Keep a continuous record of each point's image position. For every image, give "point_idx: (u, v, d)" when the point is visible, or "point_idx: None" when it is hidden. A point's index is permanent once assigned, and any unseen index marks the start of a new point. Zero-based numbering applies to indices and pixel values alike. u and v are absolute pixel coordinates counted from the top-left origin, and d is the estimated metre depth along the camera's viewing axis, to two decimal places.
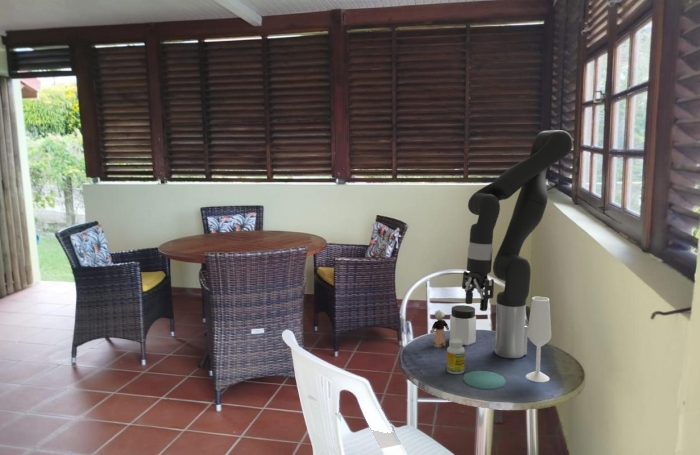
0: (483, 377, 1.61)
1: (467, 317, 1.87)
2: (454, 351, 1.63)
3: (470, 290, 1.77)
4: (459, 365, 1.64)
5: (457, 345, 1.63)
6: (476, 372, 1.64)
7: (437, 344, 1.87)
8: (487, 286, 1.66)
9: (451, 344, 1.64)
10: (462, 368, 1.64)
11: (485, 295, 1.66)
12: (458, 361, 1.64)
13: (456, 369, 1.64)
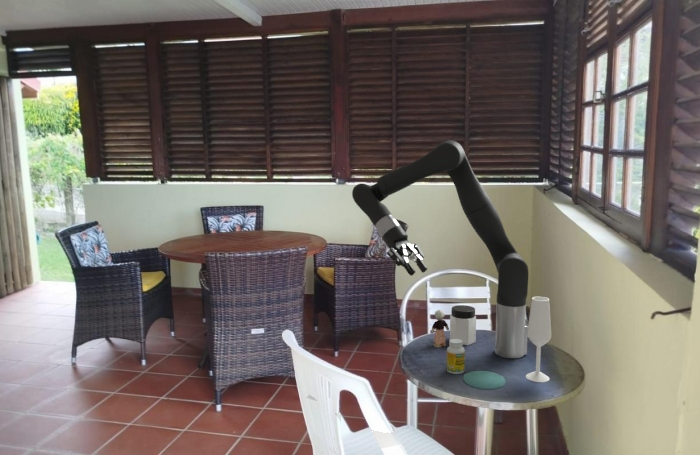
0: (483, 377, 1.61)
1: (467, 317, 1.87)
2: (454, 351, 1.63)
3: (417, 259, 1.78)
4: (459, 365, 1.64)
5: (457, 345, 1.63)
6: (476, 372, 1.64)
7: (437, 344, 1.87)
8: (391, 257, 1.74)
9: (451, 344, 1.64)
10: (462, 368, 1.64)
11: None
12: (458, 361, 1.64)
13: (456, 369, 1.64)
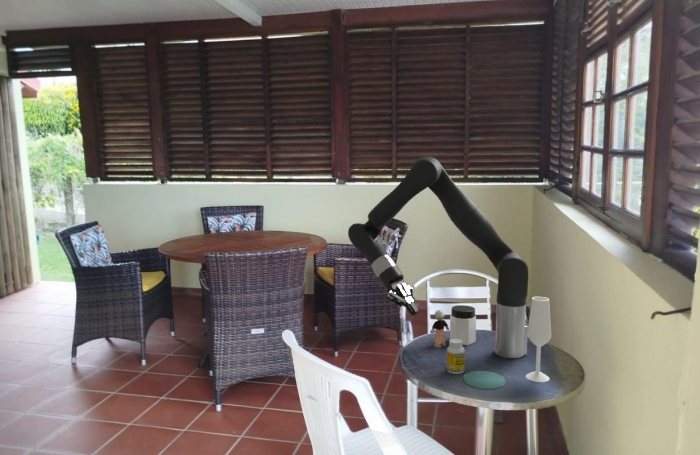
0: (483, 377, 1.61)
1: (467, 317, 1.87)
2: (454, 351, 1.63)
3: None
4: (459, 365, 1.64)
5: (457, 345, 1.63)
6: (476, 372, 1.64)
7: (437, 344, 1.87)
8: (391, 300, 1.76)
9: (451, 344, 1.64)
10: (462, 368, 1.64)
11: None
12: (458, 361, 1.64)
13: (456, 369, 1.64)
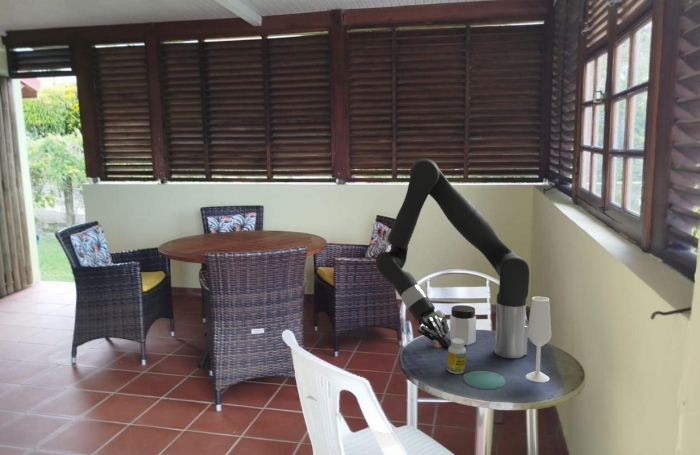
0: (483, 377, 1.61)
1: (467, 317, 1.87)
2: (456, 351, 1.63)
3: None
4: (459, 365, 1.64)
5: (459, 345, 1.63)
6: (476, 372, 1.64)
7: (437, 344, 1.87)
8: (423, 334, 1.68)
9: (453, 343, 1.64)
10: (462, 368, 1.64)
11: None
12: (459, 362, 1.63)
13: (456, 369, 1.64)
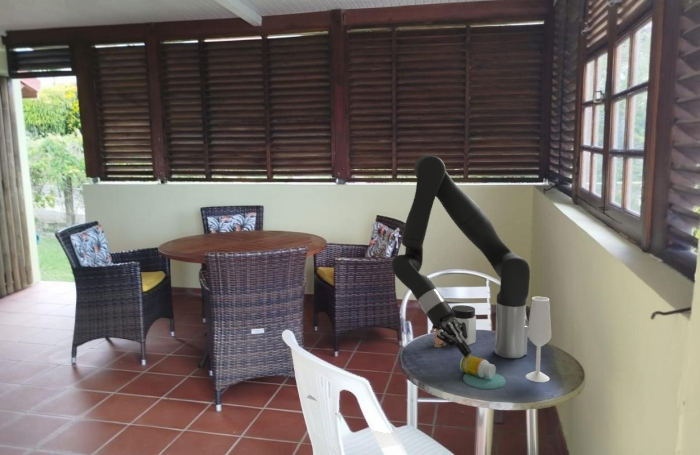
0: None
1: (467, 317, 1.87)
2: (480, 373, 1.58)
3: None
4: (468, 373, 1.62)
5: (487, 376, 1.58)
6: None
7: (437, 344, 1.87)
8: (442, 339, 1.63)
9: (487, 370, 1.57)
10: (466, 372, 1.64)
11: None
12: (471, 373, 1.61)
13: (464, 370, 1.62)
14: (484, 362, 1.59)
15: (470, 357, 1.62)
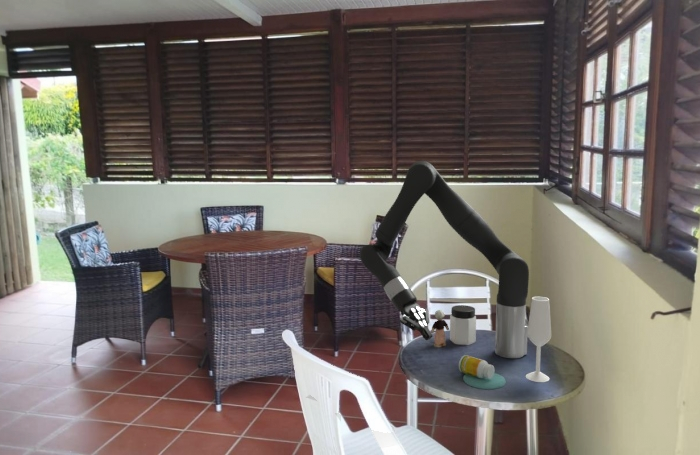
0: None
1: (467, 317, 1.87)
2: (479, 375, 1.58)
3: None
4: (468, 374, 1.62)
5: (486, 377, 1.57)
6: None
7: (437, 344, 1.87)
8: (405, 324, 1.72)
9: (486, 372, 1.57)
10: None
11: None
12: (470, 374, 1.61)
13: (463, 371, 1.62)
14: (482, 364, 1.59)
15: (468, 359, 1.62)
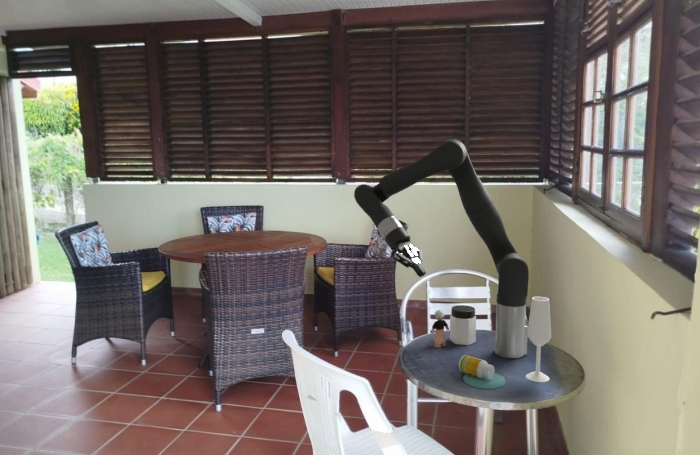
0: None
1: (467, 317, 1.87)
2: (479, 375, 1.58)
3: None
4: (468, 374, 1.62)
5: (486, 377, 1.57)
6: None
7: (437, 344, 1.87)
8: (398, 261, 1.72)
9: (486, 372, 1.57)
10: None
11: None
12: (470, 374, 1.61)
13: (463, 371, 1.62)
14: (482, 364, 1.59)
15: (468, 359, 1.62)
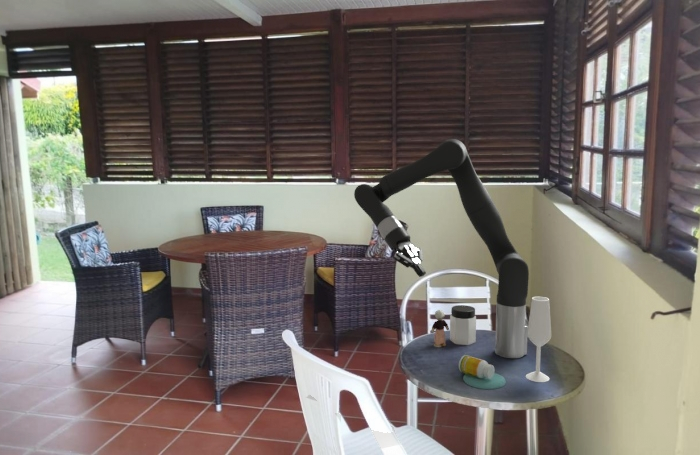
0: None
1: (467, 317, 1.87)
2: (479, 375, 1.58)
3: None
4: (468, 374, 1.62)
5: (486, 377, 1.57)
6: None
7: (437, 344, 1.87)
8: (398, 261, 1.72)
9: (486, 372, 1.57)
10: None
11: None
12: (470, 374, 1.61)
13: (463, 371, 1.62)
14: (482, 364, 1.59)
15: (468, 359, 1.62)
